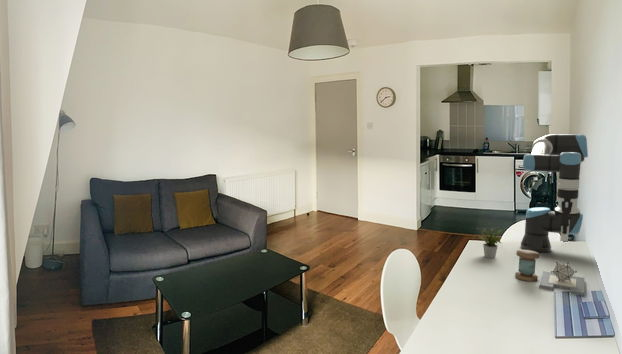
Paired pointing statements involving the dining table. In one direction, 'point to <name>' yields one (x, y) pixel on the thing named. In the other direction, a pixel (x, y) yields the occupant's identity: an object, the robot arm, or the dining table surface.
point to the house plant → (490, 243)
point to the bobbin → (527, 265)
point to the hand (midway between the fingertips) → (564, 237)
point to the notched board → (562, 283)
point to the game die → (563, 271)
